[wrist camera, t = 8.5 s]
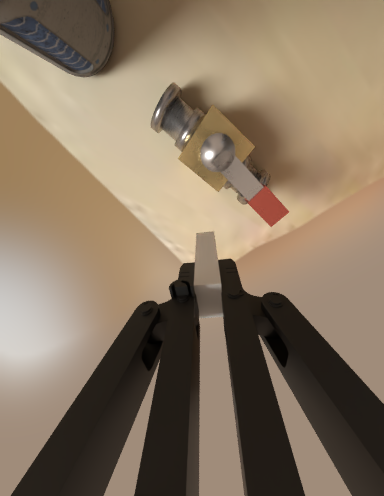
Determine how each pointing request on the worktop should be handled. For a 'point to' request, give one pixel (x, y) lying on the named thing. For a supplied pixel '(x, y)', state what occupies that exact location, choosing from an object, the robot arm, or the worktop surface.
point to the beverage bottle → (62, 31)
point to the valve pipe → (201, 137)
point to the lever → (240, 177)
